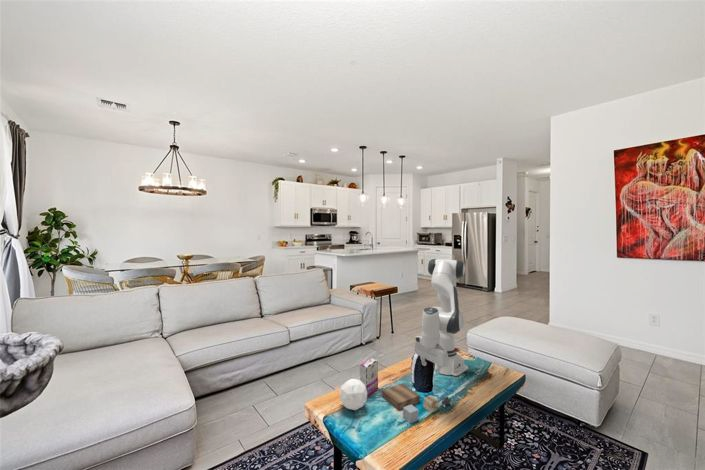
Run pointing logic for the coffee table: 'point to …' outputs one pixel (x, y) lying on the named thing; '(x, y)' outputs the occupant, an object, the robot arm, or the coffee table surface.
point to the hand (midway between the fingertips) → (430, 369)
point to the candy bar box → (369, 375)
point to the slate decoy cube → (410, 413)
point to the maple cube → (431, 403)
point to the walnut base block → (400, 396)
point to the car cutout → (447, 401)
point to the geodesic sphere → (353, 394)
